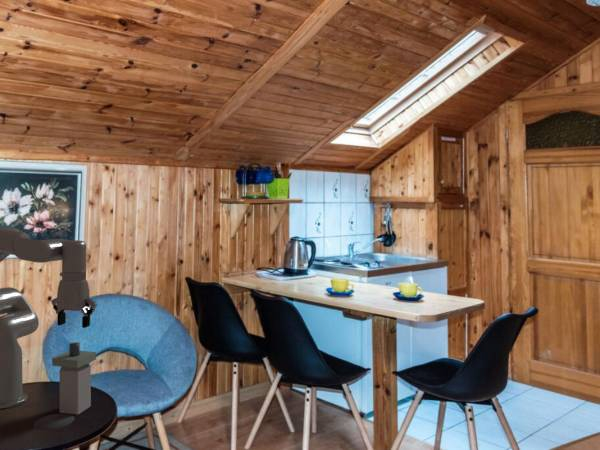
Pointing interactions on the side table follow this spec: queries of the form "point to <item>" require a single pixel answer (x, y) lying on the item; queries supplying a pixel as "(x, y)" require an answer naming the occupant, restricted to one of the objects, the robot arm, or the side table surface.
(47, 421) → the mat
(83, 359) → the square plate with knob
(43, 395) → the side table surface
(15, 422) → the side table surface
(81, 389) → the milk carton
